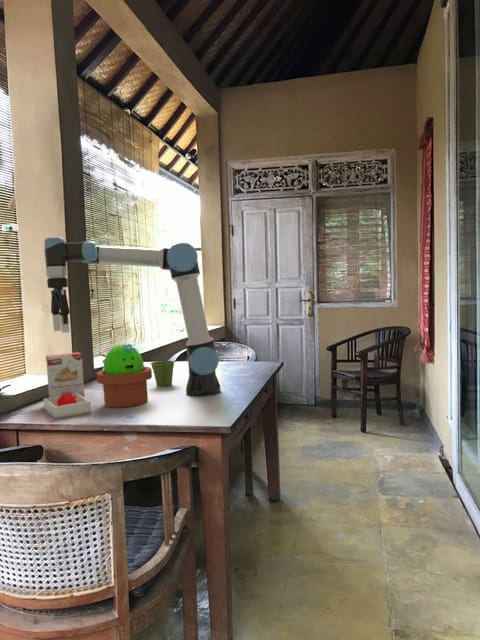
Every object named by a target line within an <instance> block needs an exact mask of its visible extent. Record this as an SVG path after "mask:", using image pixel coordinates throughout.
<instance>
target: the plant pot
mask: <svg viewBox="0 0 480 640" xmlns="http://www.w3.org/2000/svg"><path fill="white" fill-rule="evenodd" d="M175 363H176V361H175V360H160V361H159V360H158V361H153V362H150V364H149V365H151V370H152V372H153V375H154V379H155V384H156V386H157V387H159V388H160V387H161V388H162V387H165V386H166V387H170V386H172V385H173V374H174V367H175Z"/></svg>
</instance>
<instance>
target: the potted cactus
mask: <svg viewBox="0 0 480 640" xmlns="http://www.w3.org/2000/svg"><path fill="white" fill-rule="evenodd" d="M105 356H106V357H105V358H104V362H103V370H99V371H97V372H96V382H97V383H98V384H100V385H102V386H103V401H104V405H105V406H106V407H109V408H115V409H116V408H117V409H119V408H120V409H121V408H129V407H130V406H131V407H135V405H136V406H139V405H140V406H141V405H143V404H145V403H147V402H148V400H149V397H148V383H147V382H148V380H150V379H152V377H153V373H152V372H153V369H152V367H150V366H146V365H145V364H144V360H143V357H142V355H141V353H140V351H139V350H137V348H135V347H133V344H129V343H127V344H126V343H125V344H118V345H115V346H113V347H112V348H111V349H109V351H108V352H107V354H106V355H105Z"/></svg>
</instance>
